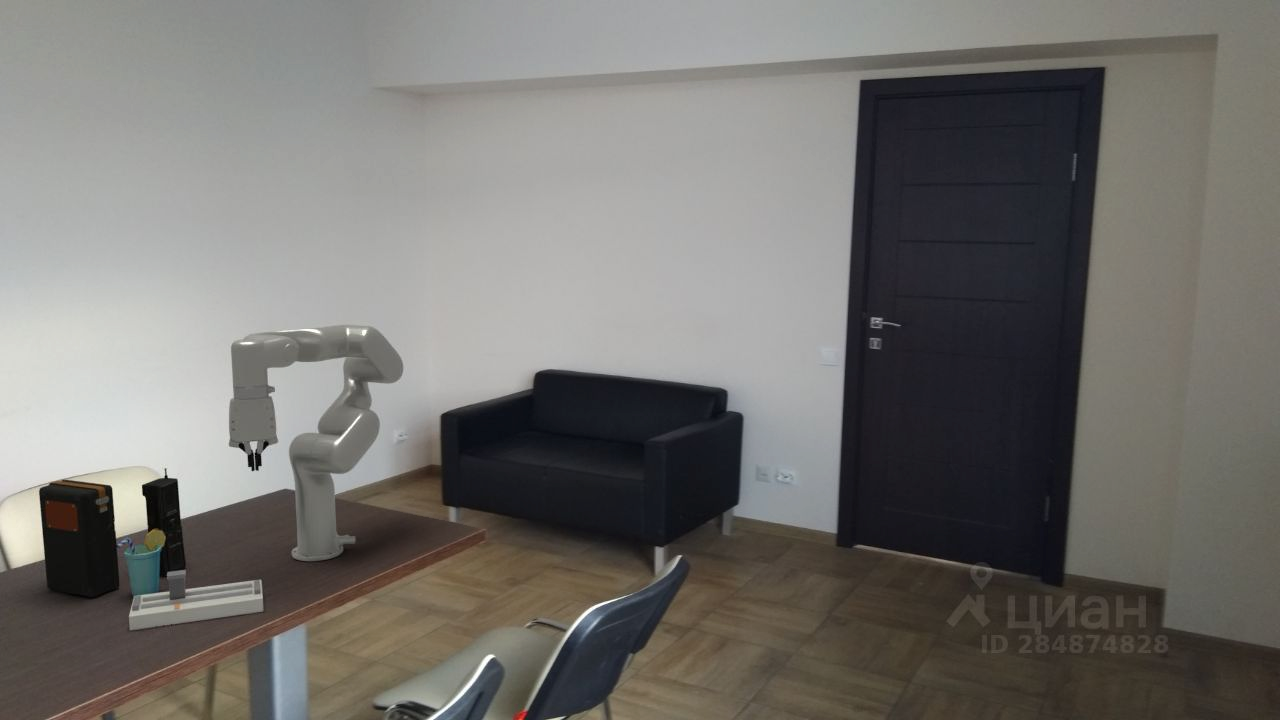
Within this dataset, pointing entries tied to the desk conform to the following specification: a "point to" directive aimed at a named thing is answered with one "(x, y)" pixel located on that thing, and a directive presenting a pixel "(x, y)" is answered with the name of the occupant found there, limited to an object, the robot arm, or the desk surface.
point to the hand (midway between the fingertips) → (255, 469)
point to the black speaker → (79, 537)
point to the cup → (144, 563)
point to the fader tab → (177, 584)
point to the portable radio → (166, 521)
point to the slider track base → (196, 605)
